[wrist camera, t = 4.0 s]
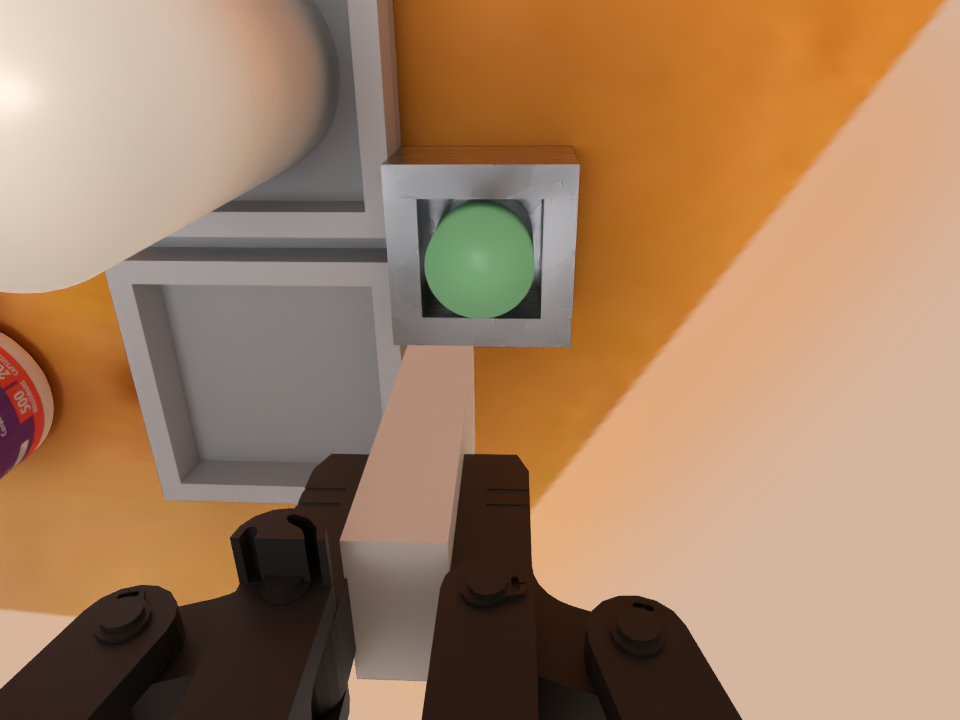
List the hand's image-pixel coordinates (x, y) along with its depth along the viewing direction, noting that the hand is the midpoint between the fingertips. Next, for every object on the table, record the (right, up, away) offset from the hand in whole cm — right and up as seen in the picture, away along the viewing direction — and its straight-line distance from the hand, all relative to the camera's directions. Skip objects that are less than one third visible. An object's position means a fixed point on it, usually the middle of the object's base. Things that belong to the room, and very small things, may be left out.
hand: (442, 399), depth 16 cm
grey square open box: (+1, +6, +14) cm, 15 cm away
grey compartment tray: (-8, +7, +14) cm, 18 cm away
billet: (-8, +12, +10) cm, 18 cm away
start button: (+1, +6, +12) cm, 14 cm away
